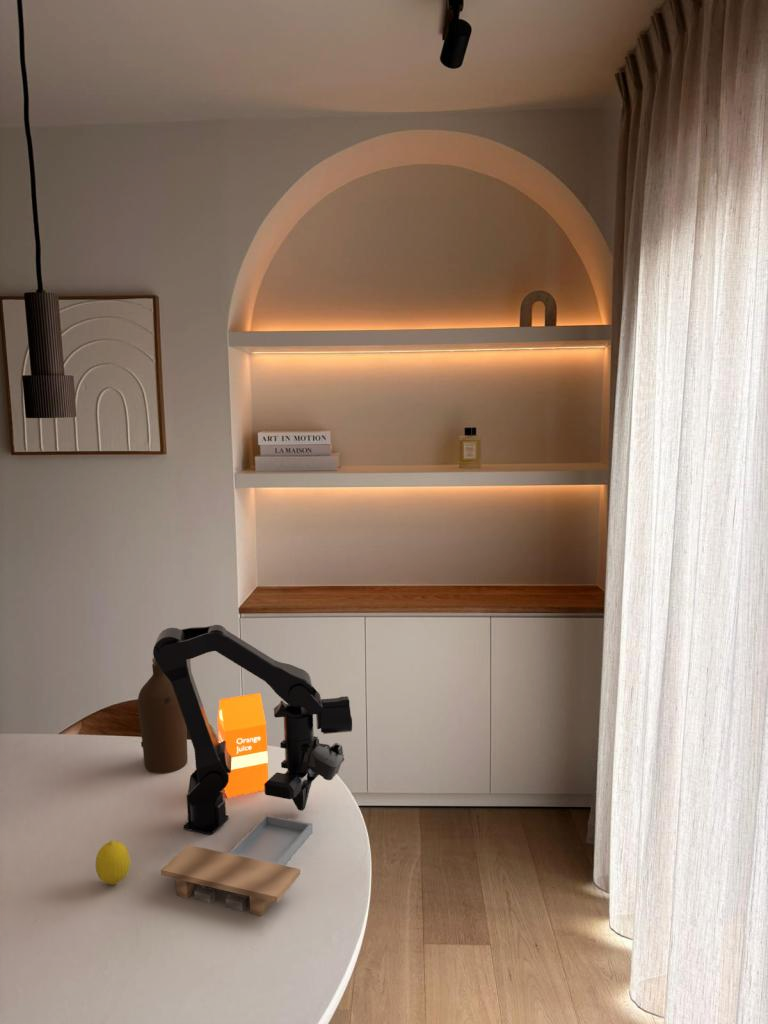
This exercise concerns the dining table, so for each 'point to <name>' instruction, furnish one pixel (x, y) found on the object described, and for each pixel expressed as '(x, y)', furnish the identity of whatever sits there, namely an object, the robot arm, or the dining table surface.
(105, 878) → the lemon
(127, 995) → the dining table surface
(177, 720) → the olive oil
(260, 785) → the orange juice
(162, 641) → the robot arm
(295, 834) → the grey open tray
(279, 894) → the bridge
